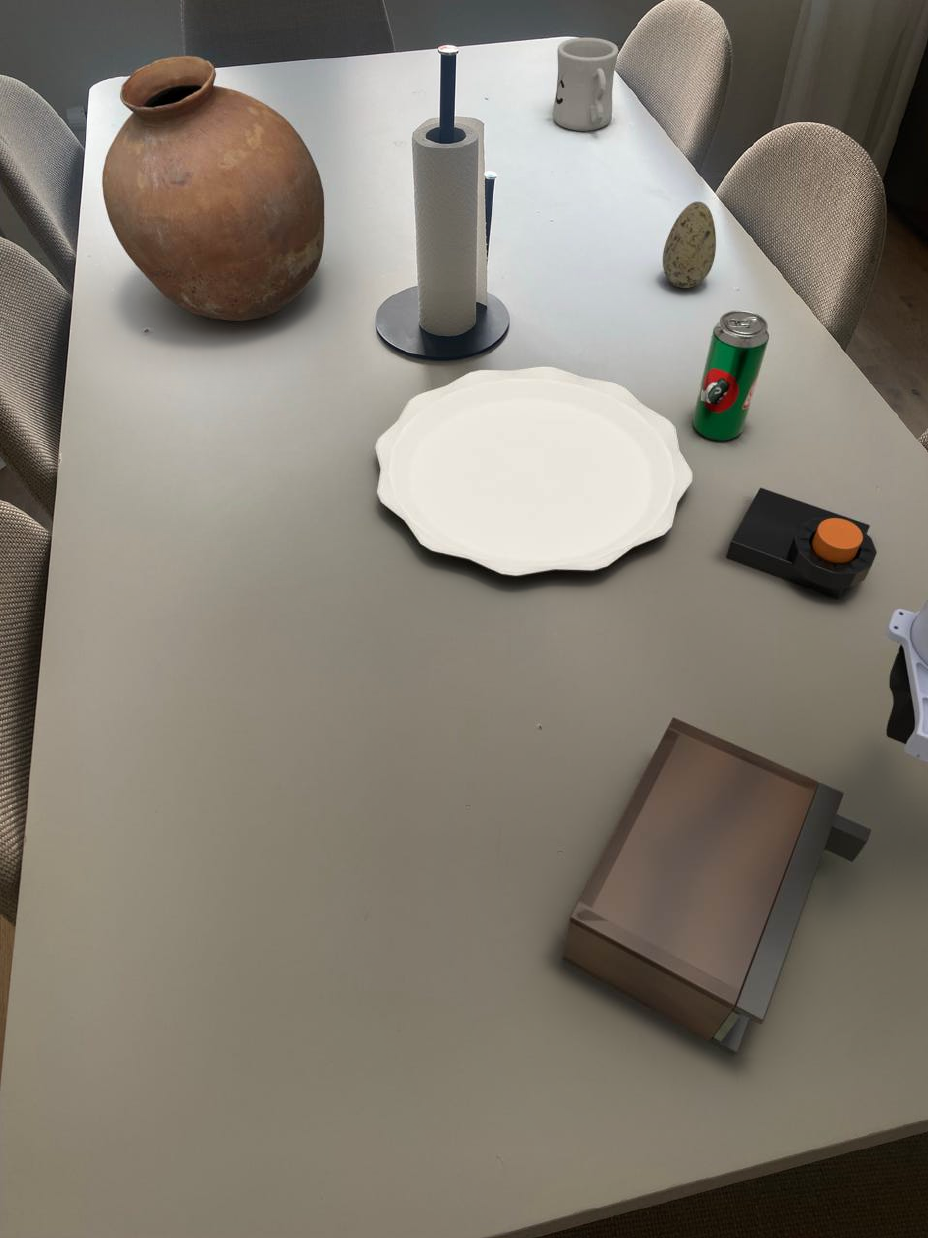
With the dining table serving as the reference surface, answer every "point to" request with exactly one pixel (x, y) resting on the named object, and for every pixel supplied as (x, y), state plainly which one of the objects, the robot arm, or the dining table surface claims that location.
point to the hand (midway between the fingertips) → (904, 734)
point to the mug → (585, 83)
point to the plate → (532, 471)
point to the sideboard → (703, 884)
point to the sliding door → (847, 838)
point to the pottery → (212, 193)
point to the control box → (796, 545)
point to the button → (837, 540)
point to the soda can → (730, 374)
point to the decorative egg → (690, 246)
